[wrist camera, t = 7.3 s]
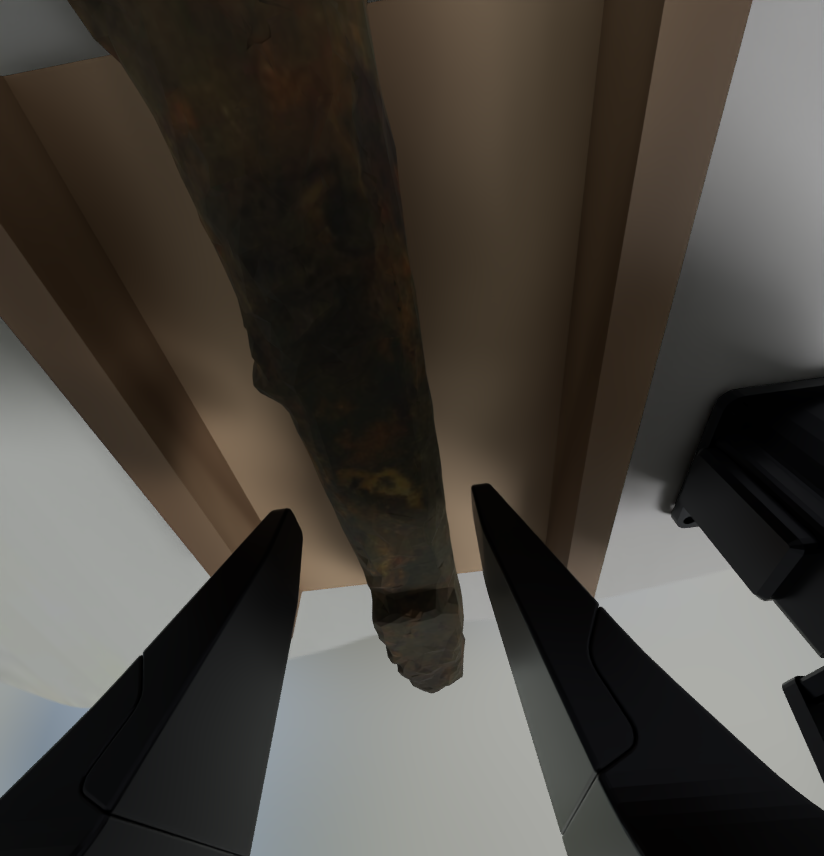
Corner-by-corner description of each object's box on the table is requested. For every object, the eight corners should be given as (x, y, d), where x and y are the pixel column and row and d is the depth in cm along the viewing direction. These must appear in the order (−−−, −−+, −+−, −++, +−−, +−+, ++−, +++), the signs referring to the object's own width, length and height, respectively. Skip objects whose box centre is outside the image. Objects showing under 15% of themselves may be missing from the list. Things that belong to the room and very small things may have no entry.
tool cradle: (651, -36, 7) (787, -135, 5) (563, 540, 17) (591, 605, 15) (-12, 94, 8) (-199, 70, 5) (280, 574, 18) (263, 641, 15)
